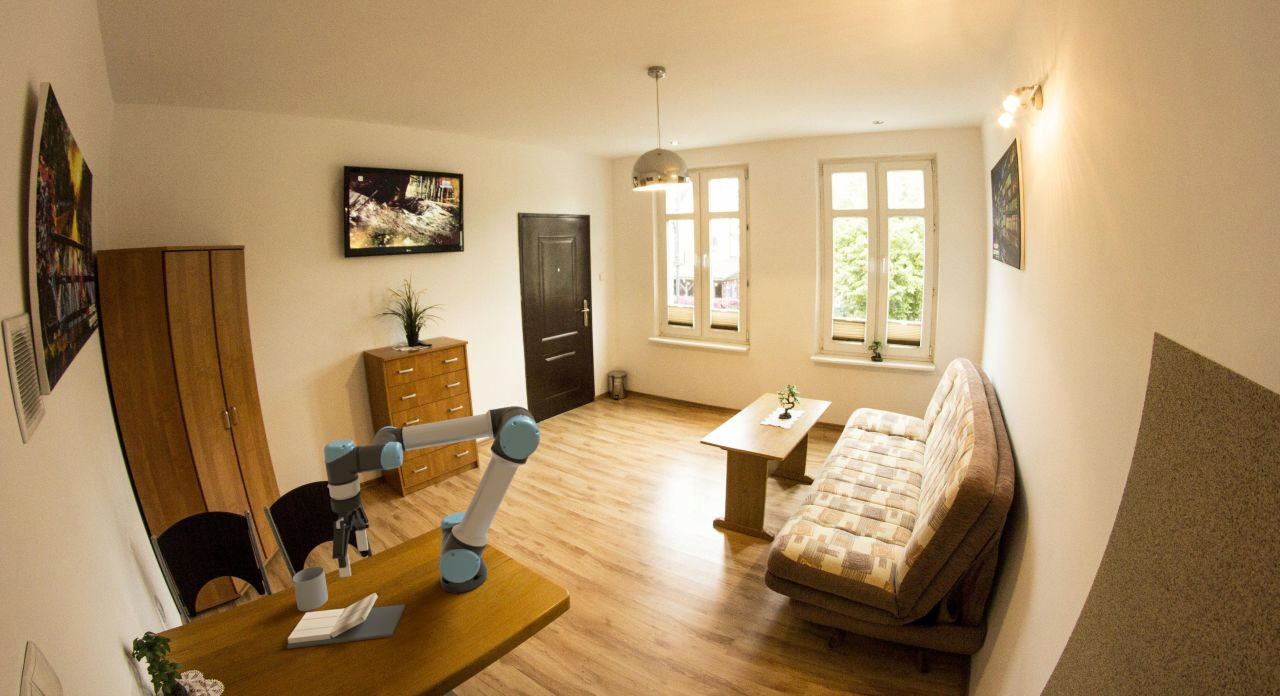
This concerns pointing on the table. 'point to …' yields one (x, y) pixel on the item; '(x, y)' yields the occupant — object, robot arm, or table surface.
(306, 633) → the floor section
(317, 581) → the cup
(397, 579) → the table surface
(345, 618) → the loose plank
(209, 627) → the table surface
